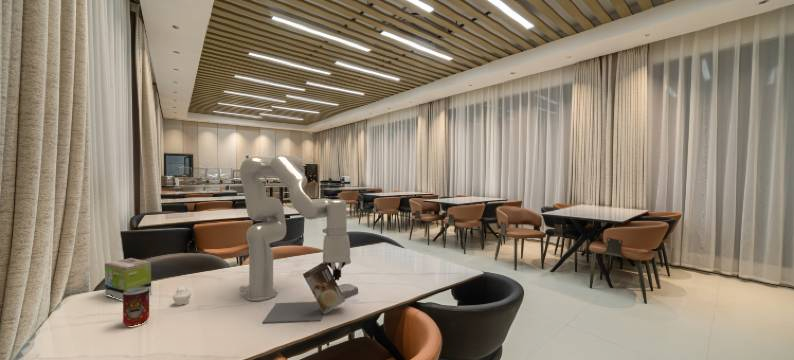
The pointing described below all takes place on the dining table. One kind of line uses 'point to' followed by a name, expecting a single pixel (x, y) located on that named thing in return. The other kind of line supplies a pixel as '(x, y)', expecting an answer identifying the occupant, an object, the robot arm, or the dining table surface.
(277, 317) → the rubber mat
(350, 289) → the stone block
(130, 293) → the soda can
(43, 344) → the dining table surface
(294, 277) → the dining table surface
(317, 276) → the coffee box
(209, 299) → the dining table surface
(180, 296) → the muffin
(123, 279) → the tea box
